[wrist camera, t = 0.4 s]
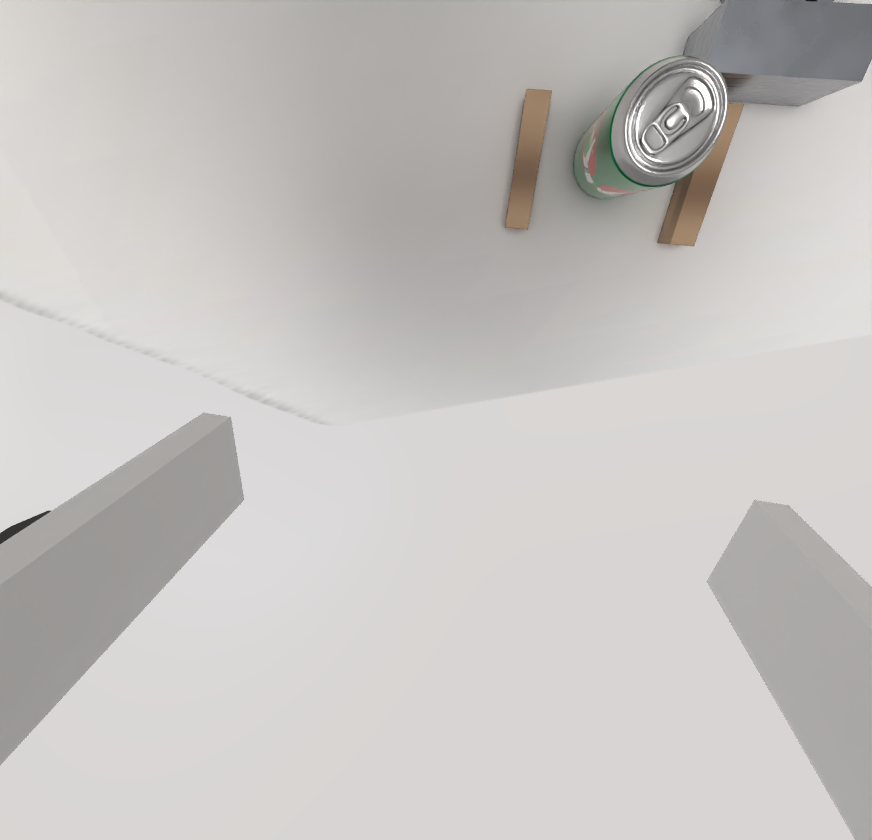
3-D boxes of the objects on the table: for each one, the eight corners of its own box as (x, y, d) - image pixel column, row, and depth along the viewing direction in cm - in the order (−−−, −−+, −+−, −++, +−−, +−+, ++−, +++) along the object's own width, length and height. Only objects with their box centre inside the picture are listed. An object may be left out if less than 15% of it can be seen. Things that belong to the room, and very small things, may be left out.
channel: (524, 99, 28) (526, 89, 25) (723, 114, 26) (744, 104, 24) (505, 227, 31) (505, 227, 29) (679, 244, 30) (693, 246, 28)
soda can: (662, 157, 28) (763, 115, 17) (600, 215, 30) (656, 210, 19) (618, 96, 27) (697, 11, 16) (557, 160, 29) (591, 123, 18)
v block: (714, -65, 23) (765, -134, 19) (869, -59, 22) (961, -130, 18) (668, 97, 26) (702, 71, 22) (801, 106, 26) (865, 81, 21)
